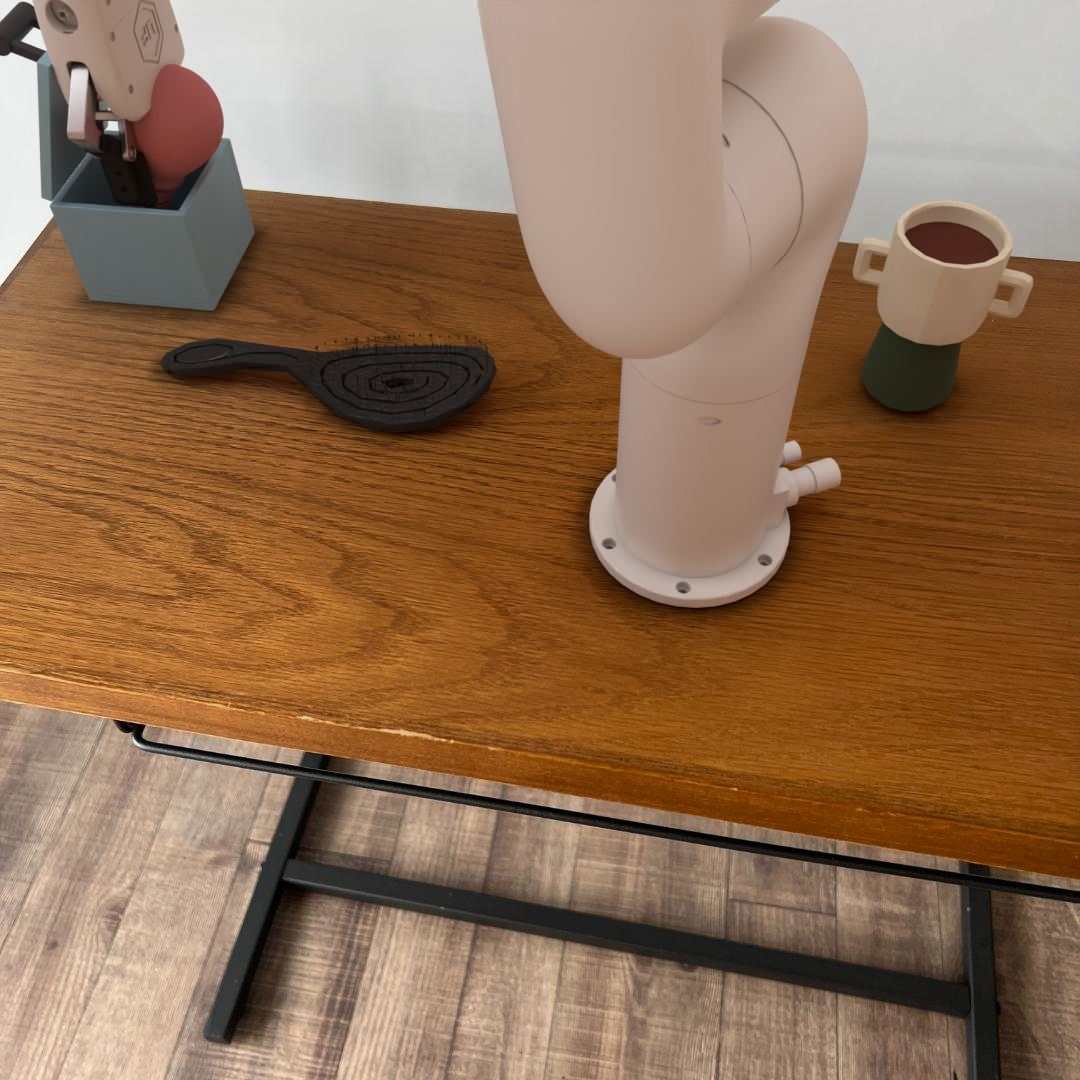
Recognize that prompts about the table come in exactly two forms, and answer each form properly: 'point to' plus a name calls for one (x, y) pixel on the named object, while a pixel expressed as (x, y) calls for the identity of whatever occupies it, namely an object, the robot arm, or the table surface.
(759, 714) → the table surface
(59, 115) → the lid
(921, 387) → the cream handled cup
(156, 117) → the light bulb
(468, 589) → the table surface
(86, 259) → the box
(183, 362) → the hairbrush
